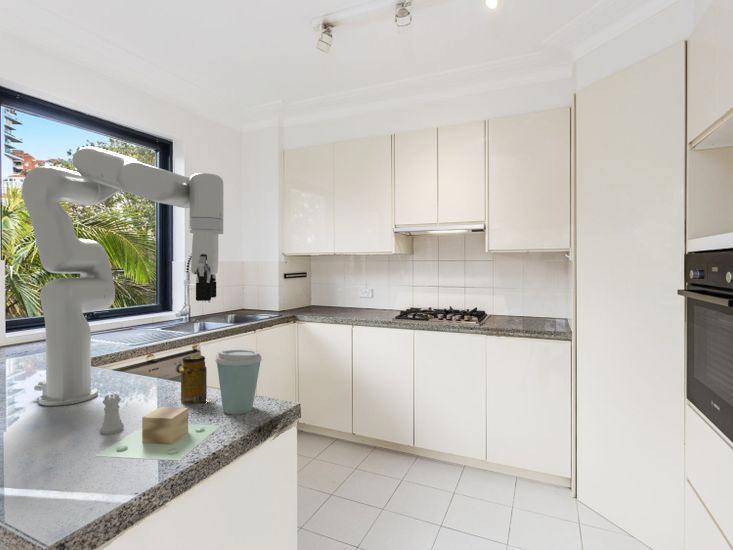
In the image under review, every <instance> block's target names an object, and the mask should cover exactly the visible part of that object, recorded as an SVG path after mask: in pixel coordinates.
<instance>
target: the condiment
mask: <svg viewBox="0 0 733 550" xmlns="http://www.w3.org/2000/svg"><path fill="white" fill-rule="evenodd" d="M205 359H206V357H205V356H203V355H200V354H198V355H197V354H196V355H195V354H194V355H187V356H184V357H183V358H182V367H181V369H180V402H181V403H180V404H183V405H190V406H191V405H200V404H202V405H203V404H204V405H214V404H215V403H216V402H217V401H218V400H219V398H218V397H217V398H214V397H213V398H212V397H211V398H207V396H208V395H207V388H208V386H207V380H208V379H207V373H208V371H207V370H208V369H207V366H206V361H205ZM206 399H207V400H209V401H210V400H211V401H210V402H207V401H206ZM216 400H217V401H216ZM206 402H207V404H205V403H206ZM208 403H209V404H208ZM213 403H214V404H213Z"/></svg>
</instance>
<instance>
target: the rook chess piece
mask: <svg viewBox="0 0 733 550" xmlns="http://www.w3.org/2000/svg"><path fill="white" fill-rule="evenodd" d="M121 400H122V399H121V397H120V394H117V393H116V394H110V395H105V396H104V399H103V400H102V403H103V404H104V408H103V410H104V413H105V414H104V418H103V422H102V424H101V425H100V427H99V431H100V433H101V434H102V435H112V434H113V435H114V434H117V433H119V432H121V431H123V429H124V427H125V425H124V423H123V422H122V419H121V417H120V412H119V409H120V408H121V406H120V405H119V403H120V402H121Z"/></svg>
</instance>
